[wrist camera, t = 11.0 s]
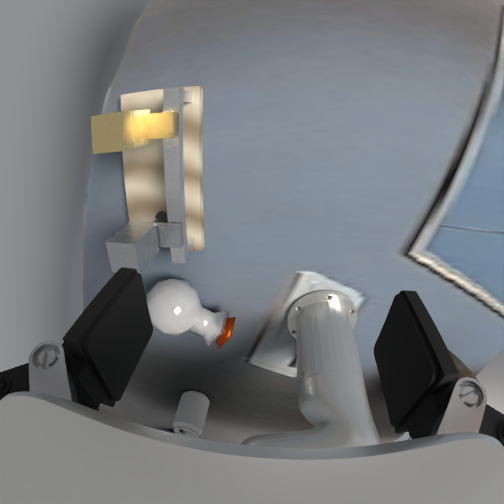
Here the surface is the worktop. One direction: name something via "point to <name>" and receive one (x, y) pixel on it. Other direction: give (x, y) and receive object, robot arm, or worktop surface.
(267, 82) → the worktop surface
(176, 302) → the potion bottle
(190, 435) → the can
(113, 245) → the trammel frame
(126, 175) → the hole plate
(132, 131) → the block
